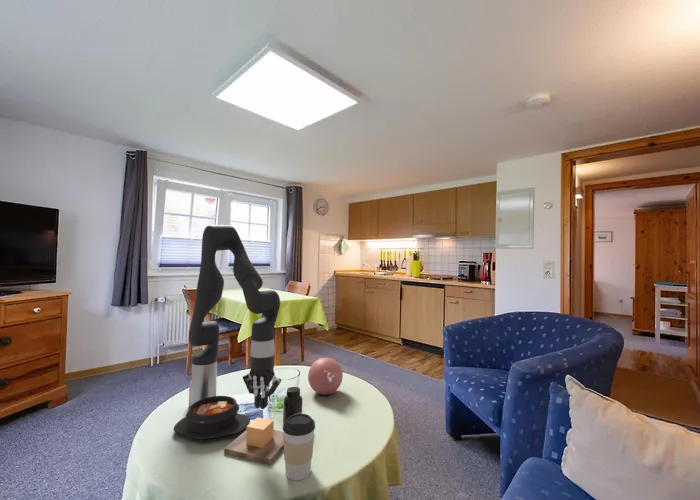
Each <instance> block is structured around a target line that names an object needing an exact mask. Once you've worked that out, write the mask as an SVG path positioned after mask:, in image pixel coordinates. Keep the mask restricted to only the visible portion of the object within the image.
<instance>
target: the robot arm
mask: <svg viewBox="0 0 700 500" xmlns="http://www.w3.org/2000/svg"><path fill="white" fill-rule="evenodd" d="M201 240H202V241H201V254H200V255H201V256H200V257H201V258H200V266H199V267H200V268H199V274H198V280H197V283H196V293H195V300H194V309H193V312H192V313H193V314H192V317H191V320H190V321H191V322H190V324H189V330H188V343H189V345H190V346H192V347H203V346H206V347H205V348H203V349H202V350H200V351H198V352H197V353H195V354H194V355H193V356H192V359H191V360H192V361H191V363H192V364H191V381H189V383H188V384H189V386H188V387H189V388H188V392H189V393H188V407H191V406H192V405H193V404H194V403H195V402H197V401H199V400H201V399H204V398H208V397H213V396H217V383H218V382H217V381H218V380H217V378H218V377H217V376H218V355H219V342H220V340H219V339H220V338H219V337H220V325H219V323H218V322H217V321H216V320H209V321H204V320H205V318H206V316H207V315H208V314H209V313H210V312H211V311H212V310H213V309H215V307H216V306H217V304H218V303H219V302H220V301H221V298H222V297H223V291H224V286H225V280H224V277H223V274H222V273H221V271H220V270H219V268H218V266H217V264H216V254H217V252H218V251H228V250H229V251H230V252H231V253H232V254H233V256H234V257H233V265H232V272H233V276H234V279H235V280H236V282H237V283H238V285H239V286H240V288H241V289H242V293H243V297H244V301H245V304H246V308H247V309H248V310H249V312H251V313H252V314H255V315H259V314H261V316H260V318H259V319H257V320H255V321H254V322H252V326H251V343H250V351H249V353H250V354H249V355H250V356H249V357H250V358H249V368H250V370H249V372H248V373H247V374H245V375H243V376H242V380H243V383H244V384H245V386H246V389H247V391H248V393H249V394H250V395H251V394H252V395H253V396H254V401H253V403H254V406H255V408H256V409H259V408H260V409H261V410H265V409H266V408H267V407H268V406H269V405H268V404H269V397H271V396H272V395H274V393H275V391H277V389H278V387H279V386H280V384H281V383H282V378H278V377H276V376H275V371H274V369H275V351H276V350H275V349H276V348H275V347H276V346H275V345H276V344H275V325H276V322H277V318H278V314H279V311H280V306H281V298H280V295H279V294H278V292H277V291H275V290H271V289H269V290H261V291H260V289H261V288H262V286H263V285H264V281H263V279H262V277H261V275H260V274H259V272H258V271H257V269H256V268H255V267H254V265H253V262H251V260H250V258H249V256H248V254H247V251H246V248H245V247H244V244H243V242H242V239H241V237H240V235H239V233H238V231H237V229H236V228H235V227H234V226H232V225H230V224H229V225H228V224H219V225H218V224H211V225H207V226H206V227H205V228H204V230H203V233H202V238H201Z"/></svg>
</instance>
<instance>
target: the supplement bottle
mask: <svg viewBox="0 0 700 500" xmlns="http://www.w3.org/2000/svg"><path fill="white" fill-rule="evenodd" d="M282 405H283V407H282V408H283V410H282V423H284V422H285V421H286V420H287V419H288V418H289V417H290V416H292V415H295V414H303V397H302V395H301V388H300V387H298V386H291V387H288V388H287V389H286V396H285V397H284V398H283V404H282Z"/></svg>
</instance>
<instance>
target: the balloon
mask: <svg viewBox="0 0 700 500" xmlns="http://www.w3.org/2000/svg"><path fill="white" fill-rule="evenodd" d="M343 376H344V375H343V369H342V366H341V365H340V364H339V362H338V361H337V360H335V359H333V358H331V357H321V358H317V359H316V360H315V361H314V362H313V363H312V364H311V365H310V367H309V370H308V373H307V380H308V383H309V385H310V388H311V389H312V390H313V391H314V392H315V393H317V394H318V395H319V394H320V395H323V396H324V395H325V396H326V395H331V394H334V393H335V392H336V391H337V390H338V389H339V388H340V386H341V384H342V383H343Z"/></svg>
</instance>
